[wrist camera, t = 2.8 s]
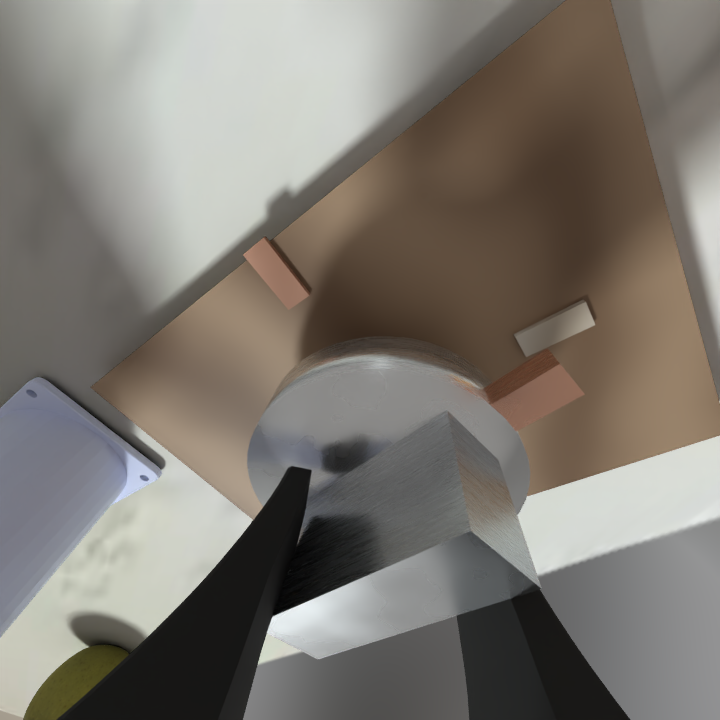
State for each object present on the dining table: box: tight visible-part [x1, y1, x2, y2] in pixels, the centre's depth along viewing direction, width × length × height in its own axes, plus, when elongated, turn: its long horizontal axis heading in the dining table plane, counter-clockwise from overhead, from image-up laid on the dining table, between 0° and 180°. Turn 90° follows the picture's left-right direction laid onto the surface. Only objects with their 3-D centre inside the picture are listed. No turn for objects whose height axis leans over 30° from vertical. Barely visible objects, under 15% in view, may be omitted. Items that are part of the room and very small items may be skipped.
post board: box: [90, 0, 720, 520], centre depth 14 cm, size 22×16×3 cm
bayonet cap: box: [247, 336, 585, 659], centre depth 10 cm, size 11×9×6 cm
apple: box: [23, 645, 129, 720], centre depth 33 cm, size 8×8×7 cm
